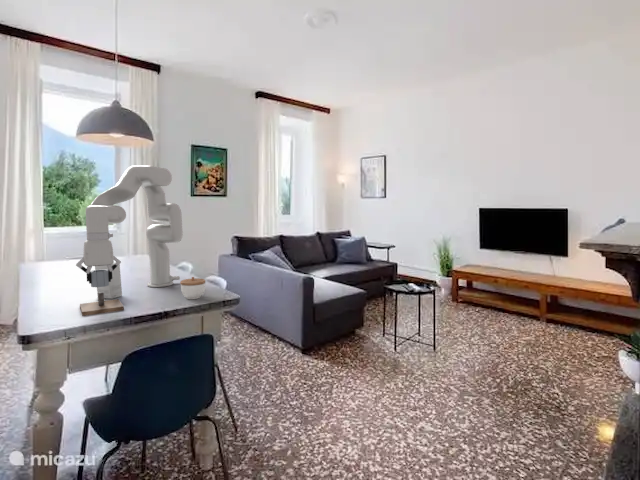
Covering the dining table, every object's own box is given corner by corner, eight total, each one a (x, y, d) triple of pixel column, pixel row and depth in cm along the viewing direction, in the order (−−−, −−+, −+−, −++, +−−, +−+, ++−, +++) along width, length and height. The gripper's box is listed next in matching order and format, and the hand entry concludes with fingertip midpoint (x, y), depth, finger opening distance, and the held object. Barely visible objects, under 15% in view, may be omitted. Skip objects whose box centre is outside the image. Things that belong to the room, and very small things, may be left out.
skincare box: (122, 296, 172) (121, 262, 171) (110, 299, 166) (108, 264, 164) (108, 294, 175) (106, 261, 173) (96, 297, 169) (94, 263, 167)
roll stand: (118, 302, 161) (117, 287, 160) (123, 310, 150) (123, 294, 149) (79, 307, 153) (79, 291, 152) (82, 316, 141) (81, 299, 141)
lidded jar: (175, 299, 167) (174, 278, 166) (191, 293, 177) (191, 274, 176) (195, 301, 164) (194, 280, 163) (210, 295, 174) (210, 275, 173)
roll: (107, 283, 154) (107, 269, 154) (109, 286, 149) (108, 271, 149) (90, 285, 151) (89, 270, 150) (92, 287, 146) (91, 272, 145)
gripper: (121, 235, 156) (122, 278, 158) (71, 237, 146) (73, 283, 148) (123, 236, 150) (125, 281, 152) (72, 238, 140) (74, 286, 142)
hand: (99, 281), depth 150 cm, fingers closed on roll, 5 cm apart
